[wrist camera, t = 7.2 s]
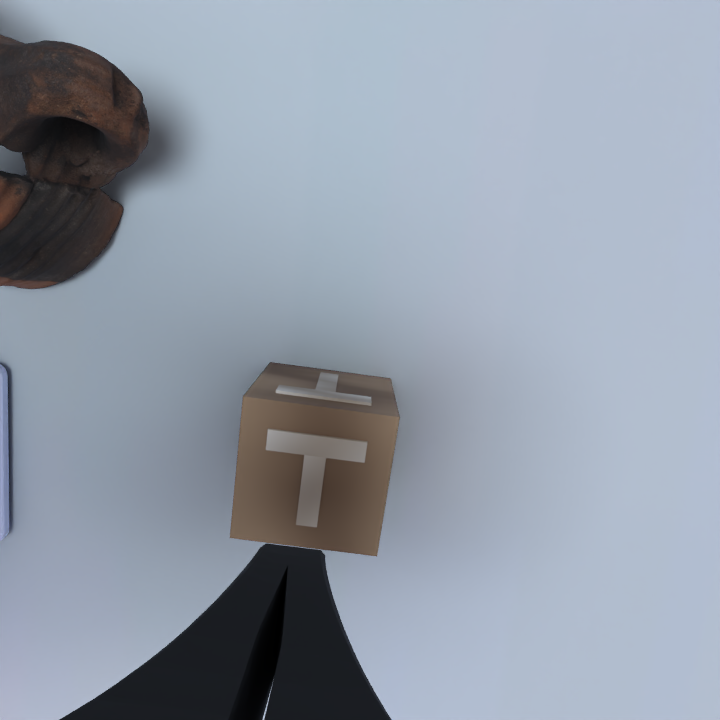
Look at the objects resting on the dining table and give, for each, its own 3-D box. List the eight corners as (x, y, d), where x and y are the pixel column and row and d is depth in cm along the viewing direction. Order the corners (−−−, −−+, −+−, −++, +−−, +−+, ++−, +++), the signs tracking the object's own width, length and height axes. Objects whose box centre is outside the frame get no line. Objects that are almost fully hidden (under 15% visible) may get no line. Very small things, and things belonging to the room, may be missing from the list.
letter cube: (259, 473, 22) (229, 539, 17) (271, 359, 21) (242, 394, 16) (373, 487, 22) (376, 557, 17) (390, 375, 21) (400, 415, 16)
